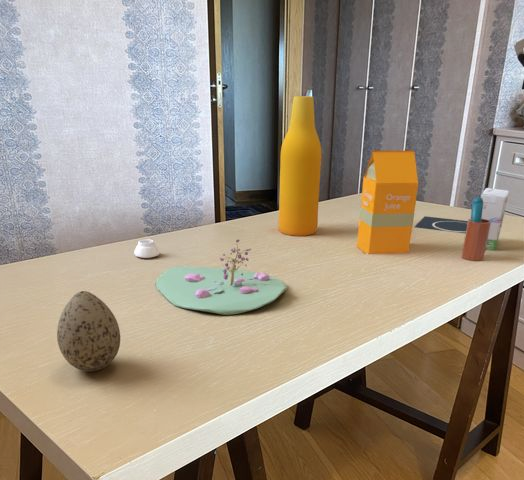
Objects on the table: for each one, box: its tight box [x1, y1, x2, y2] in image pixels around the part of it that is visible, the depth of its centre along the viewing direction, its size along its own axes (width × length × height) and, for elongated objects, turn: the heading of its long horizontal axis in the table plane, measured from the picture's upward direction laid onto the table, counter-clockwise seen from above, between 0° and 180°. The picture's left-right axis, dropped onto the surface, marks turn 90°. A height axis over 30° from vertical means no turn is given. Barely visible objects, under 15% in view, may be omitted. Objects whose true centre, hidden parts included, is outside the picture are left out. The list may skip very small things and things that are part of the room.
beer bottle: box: [277, 95, 323, 237], centre depth 119 cm, size 9×9×29 cm
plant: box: [155, 239, 288, 316], centre depth 88 cm, size 25×21×9 cm
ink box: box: [480, 187, 510, 252], centre depth 114 cm, size 8×5×12 cm, turn 154°
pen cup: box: [461, 218, 491, 262], centre depth 105 cm, size 4×4×8 cm
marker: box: [470, 196, 483, 223], centre depth 104 cm, size 2×2×12 cm
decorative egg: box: [56, 290, 121, 372], centre depth 63 cm, size 7×7×10 cm
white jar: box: [133, 238, 161, 259], centre depth 106 cm, size 5×3×5 cm
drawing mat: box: [414, 215, 468, 235], centre depth 131 cm, size 18×16×1 cm
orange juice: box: [356, 150, 419, 255], centre depth 108 cm, size 8×9×20 cm
